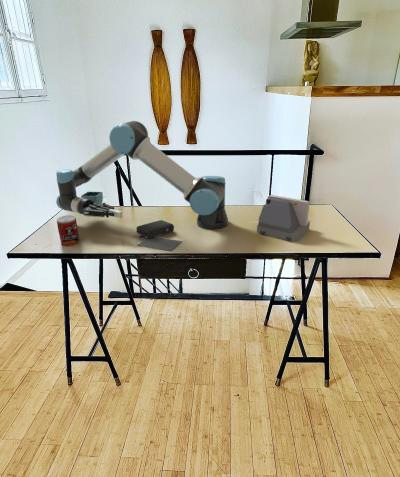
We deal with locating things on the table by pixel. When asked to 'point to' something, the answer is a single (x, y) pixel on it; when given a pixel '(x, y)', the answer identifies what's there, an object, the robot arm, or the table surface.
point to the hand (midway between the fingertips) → (121, 214)
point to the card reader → (155, 228)
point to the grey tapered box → (284, 218)
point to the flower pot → (94, 197)
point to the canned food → (68, 230)
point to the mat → (160, 243)
